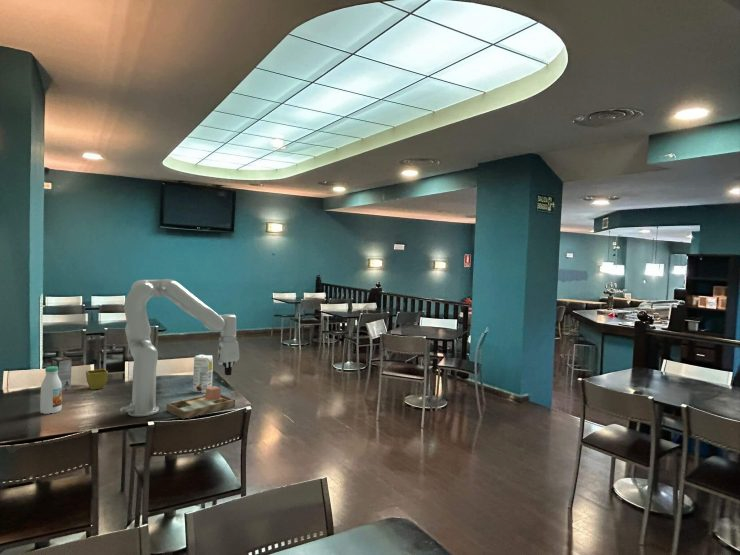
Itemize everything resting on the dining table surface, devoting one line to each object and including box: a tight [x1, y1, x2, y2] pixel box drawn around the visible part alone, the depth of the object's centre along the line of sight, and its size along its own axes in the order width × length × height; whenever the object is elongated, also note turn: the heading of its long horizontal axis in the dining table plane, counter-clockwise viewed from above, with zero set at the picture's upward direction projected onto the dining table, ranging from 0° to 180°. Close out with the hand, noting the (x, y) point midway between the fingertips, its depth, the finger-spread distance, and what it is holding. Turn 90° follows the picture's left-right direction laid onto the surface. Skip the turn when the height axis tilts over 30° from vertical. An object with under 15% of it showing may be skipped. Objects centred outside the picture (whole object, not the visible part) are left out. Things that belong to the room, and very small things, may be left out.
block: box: [205, 385, 221, 400], centre depth 218 cm, size 5×5×5 cm
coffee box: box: [50, 355, 73, 391], centre depth 231 cm, size 9×6×16 cm
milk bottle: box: [39, 365, 63, 415], centre depth 197 cm, size 8×8×20 cm
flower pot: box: [85, 368, 109, 390], centre depth 234 cm, size 9×9×9 cm
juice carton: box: [192, 354, 214, 394], centre depth 237 cm, size 8×9×19 cm
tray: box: [165, 393, 236, 420], centre depth 210 cm, size 26×16×3 cm, turn 141°
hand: (228, 374), depth 224 cm, fingers closed
